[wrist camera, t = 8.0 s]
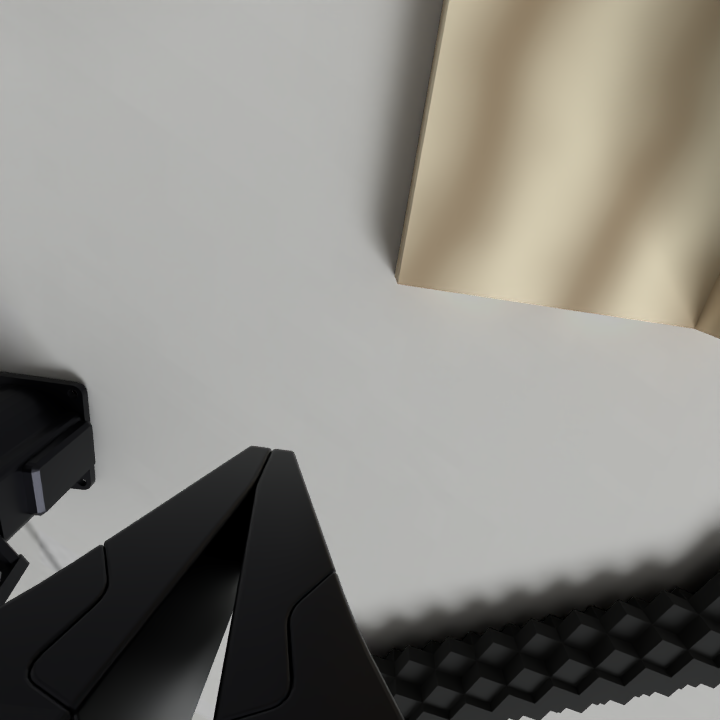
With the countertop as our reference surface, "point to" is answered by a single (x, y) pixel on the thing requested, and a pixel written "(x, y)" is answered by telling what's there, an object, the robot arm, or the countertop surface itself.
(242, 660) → the robot arm
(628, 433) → the countertop surface
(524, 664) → the black segmented strip
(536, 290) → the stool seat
